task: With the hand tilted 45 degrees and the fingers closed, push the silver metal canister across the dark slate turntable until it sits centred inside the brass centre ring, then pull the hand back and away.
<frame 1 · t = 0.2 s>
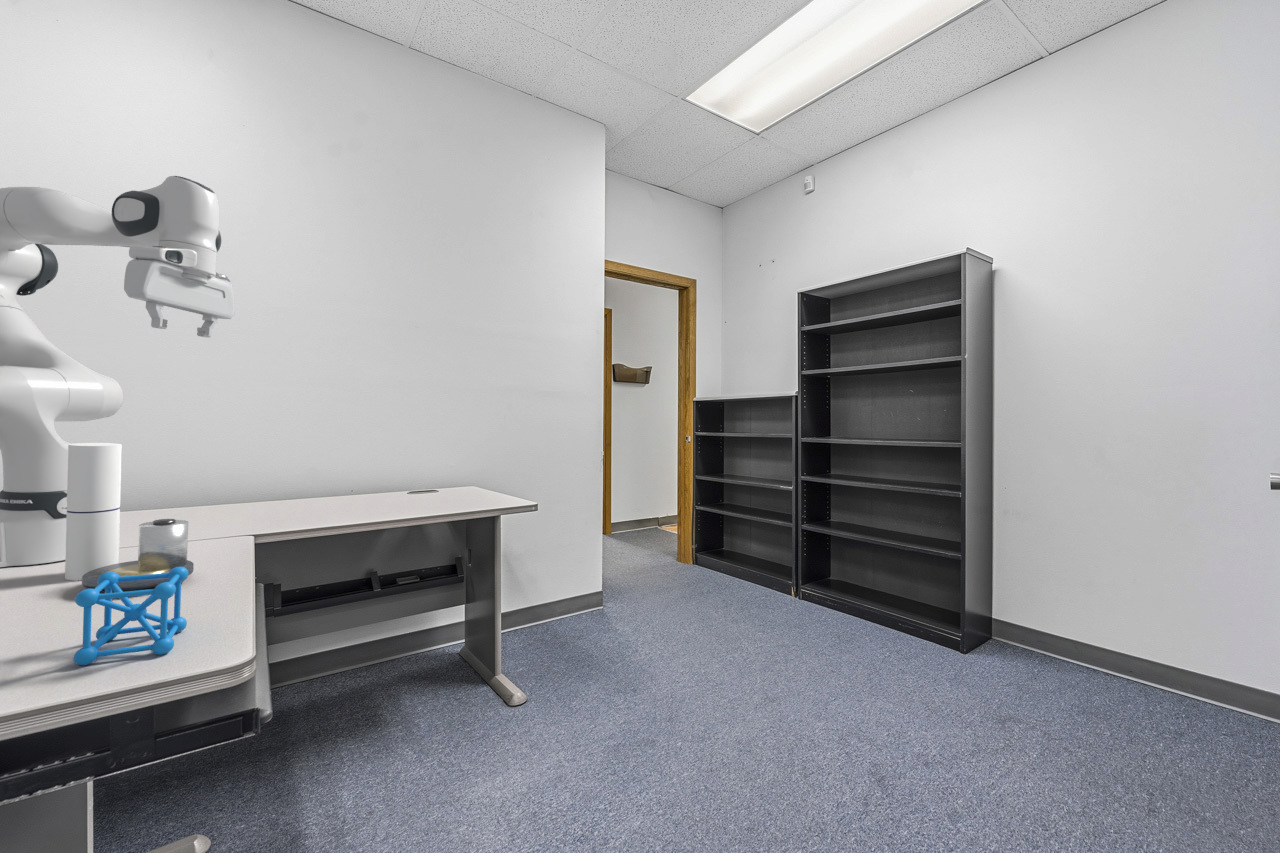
hand: (182, 332, 106), 47 cm above the table, tool pointing down, fingers open, 8 cm apart
silver metal canister: (163, 565, 102), point 3 cm above the table, touching turntable platter
molecular structure: (134, 648, 75), on the table
cylindrical container: (92, 575, 103), on the table
turntable platter: (140, 573, 99), point 2 cm above the table, hinge at 0.0°, touching silver metal canister
turntable base: (140, 584, 99), on the table
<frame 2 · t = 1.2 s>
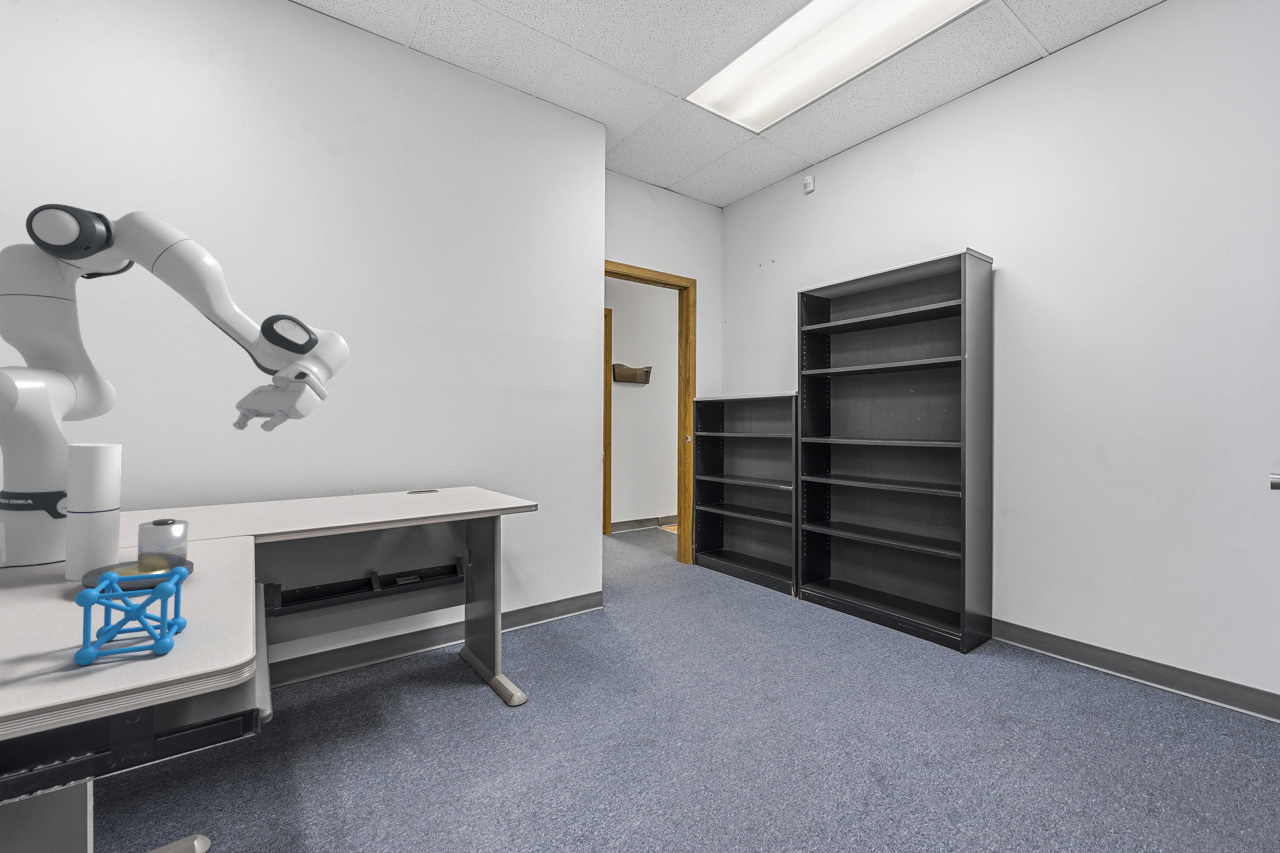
hand: (250, 428, 115), 29 cm above the table, tool tilted 45°, fingers open, 8 cm apart
nothing on the table moved.
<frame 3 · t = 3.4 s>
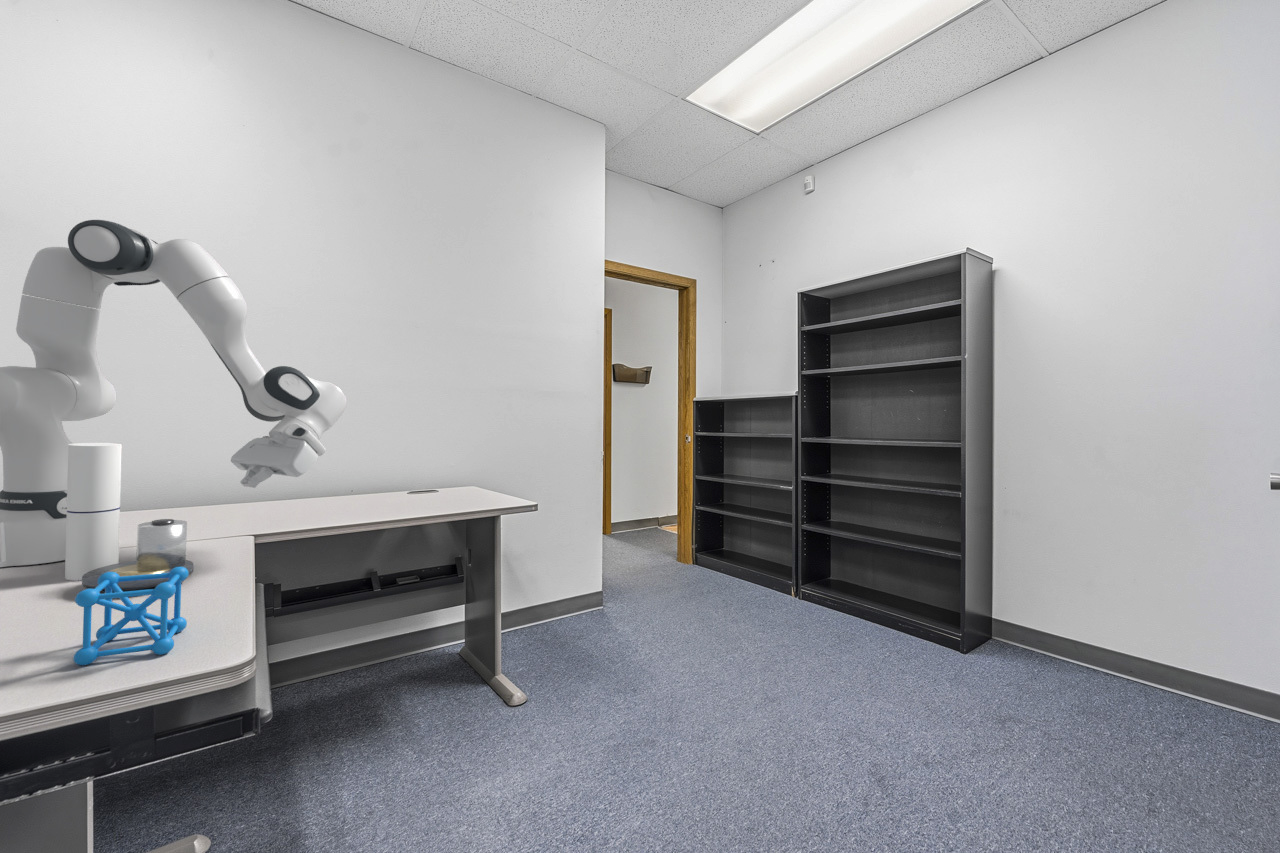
hand: (246, 485, 115), 16 cm above the table, tool tilted 45°, fingers closed
nothing on the table moved.
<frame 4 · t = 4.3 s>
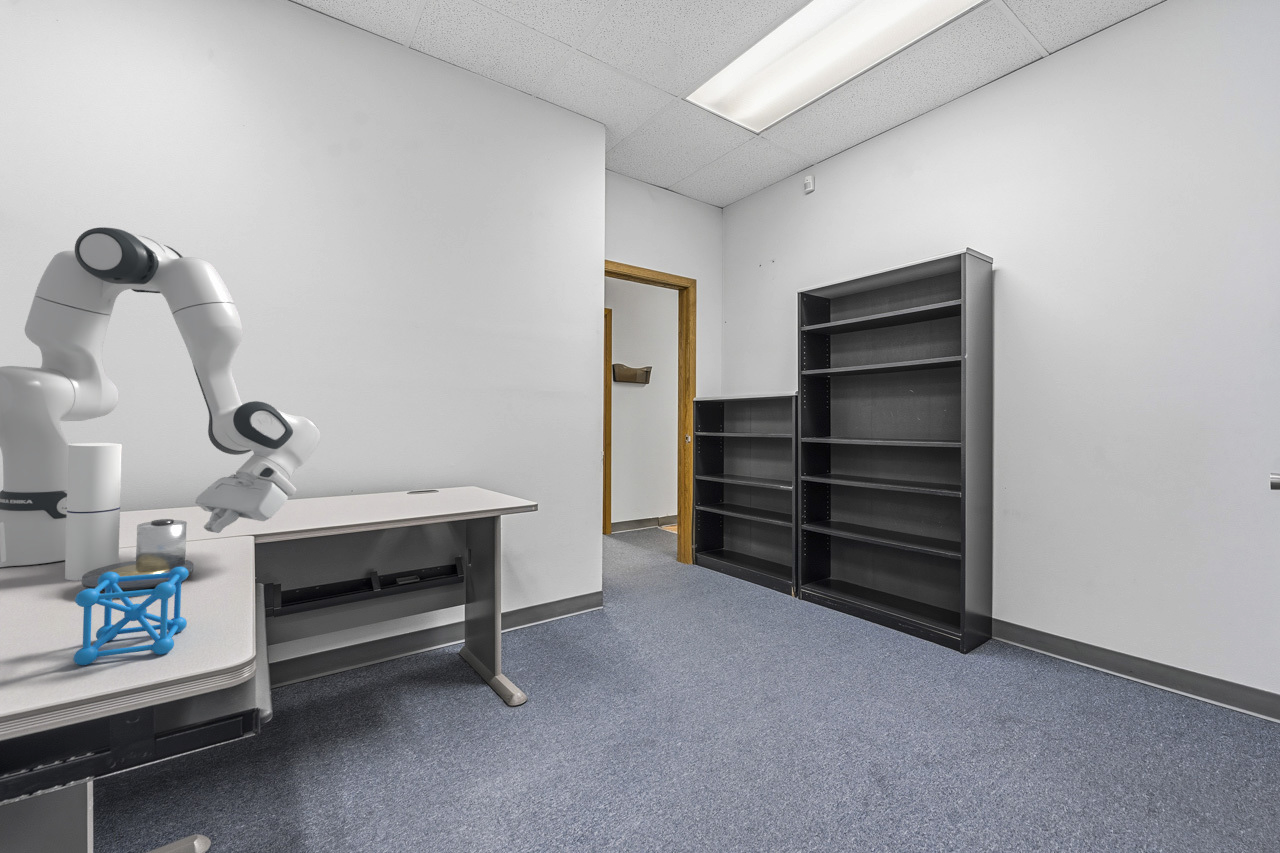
hand: (210, 530, 109), 8 cm above the table, tool tilted 45°, fingers closed
nothing on the table moved.
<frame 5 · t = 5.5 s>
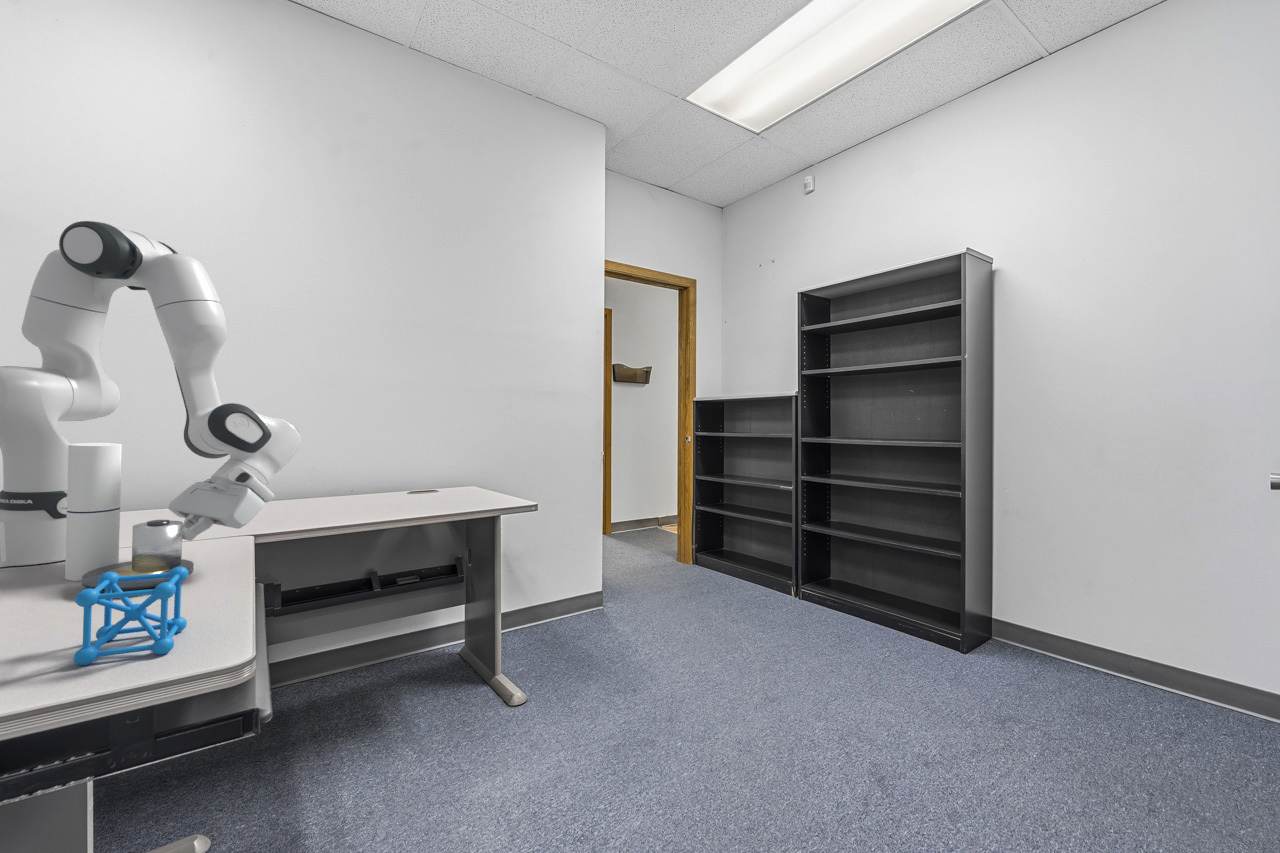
hand: (182, 538, 105), 7 cm above the table, tool tilted 45°, fingers closed, pressing on silver metal canister
silver metal canister: (157, 566, 101), point 3 cm above the table, touching gripper, turntable platter
everything else where it was.
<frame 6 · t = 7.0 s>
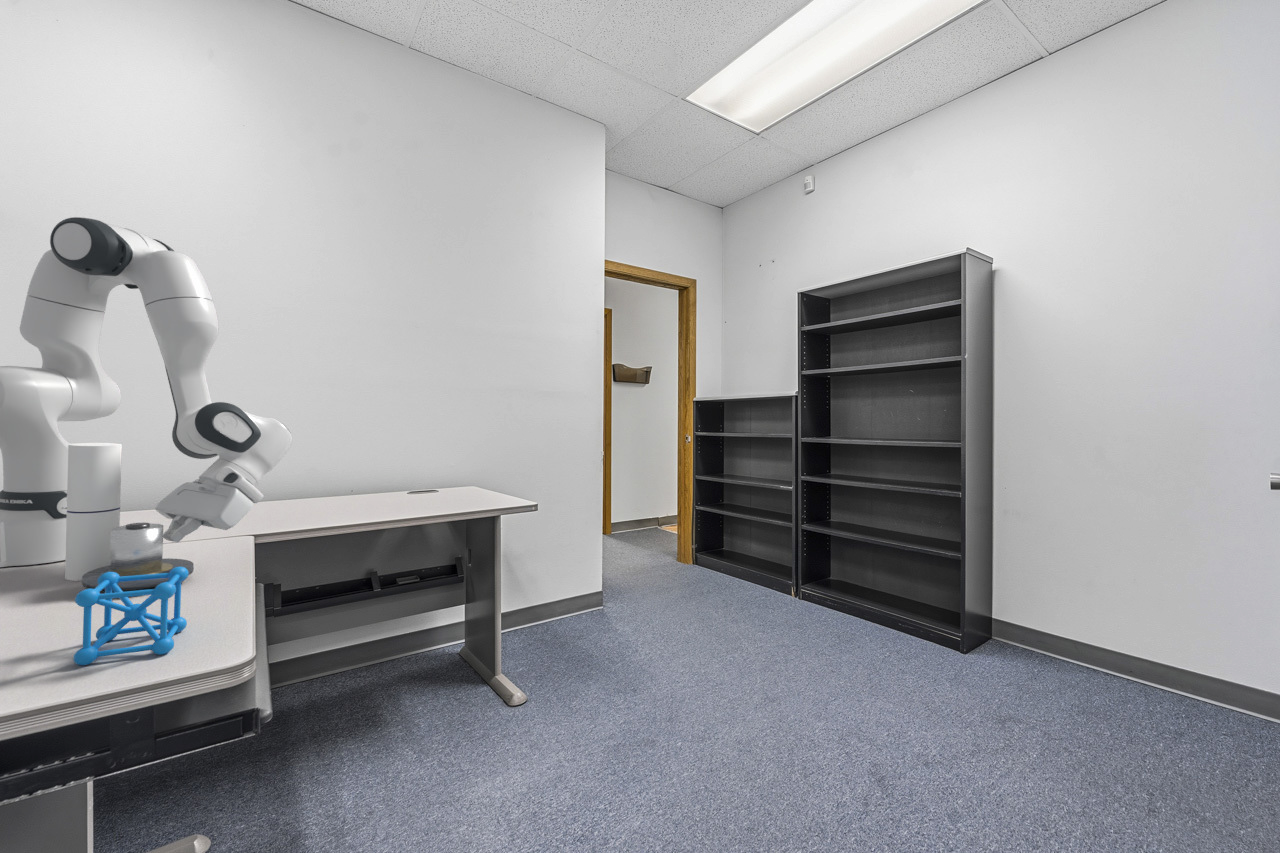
hand: (169, 539, 103), 7 cm above the table, tool tilted 45°, fingers closed
silver metal canister: (136, 571, 98), point 3 cm above the table, touching turntable platter
everything else where it was.
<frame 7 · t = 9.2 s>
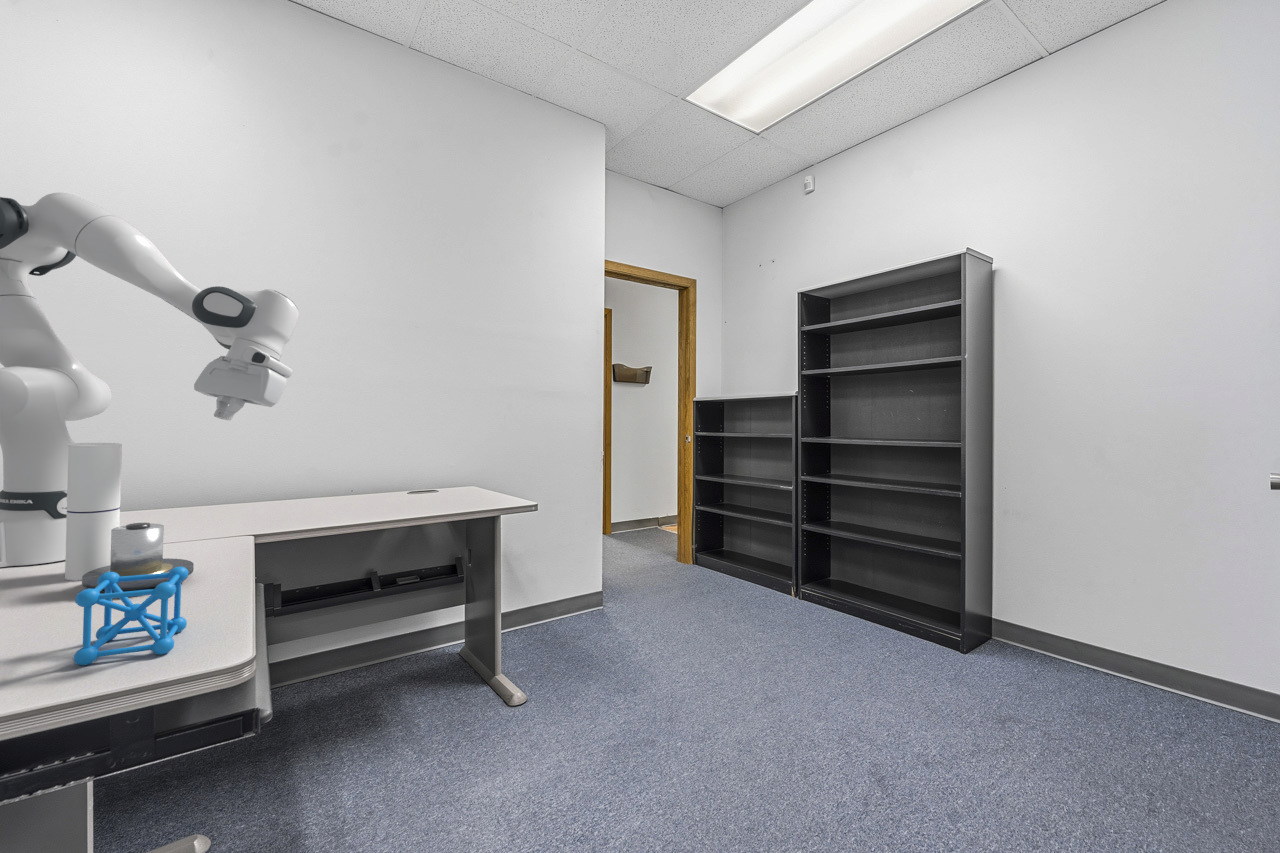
hand: (221, 418, 112), 31 cm above the table, tool tilted 25°, fingers closed
nothing on the table moved.
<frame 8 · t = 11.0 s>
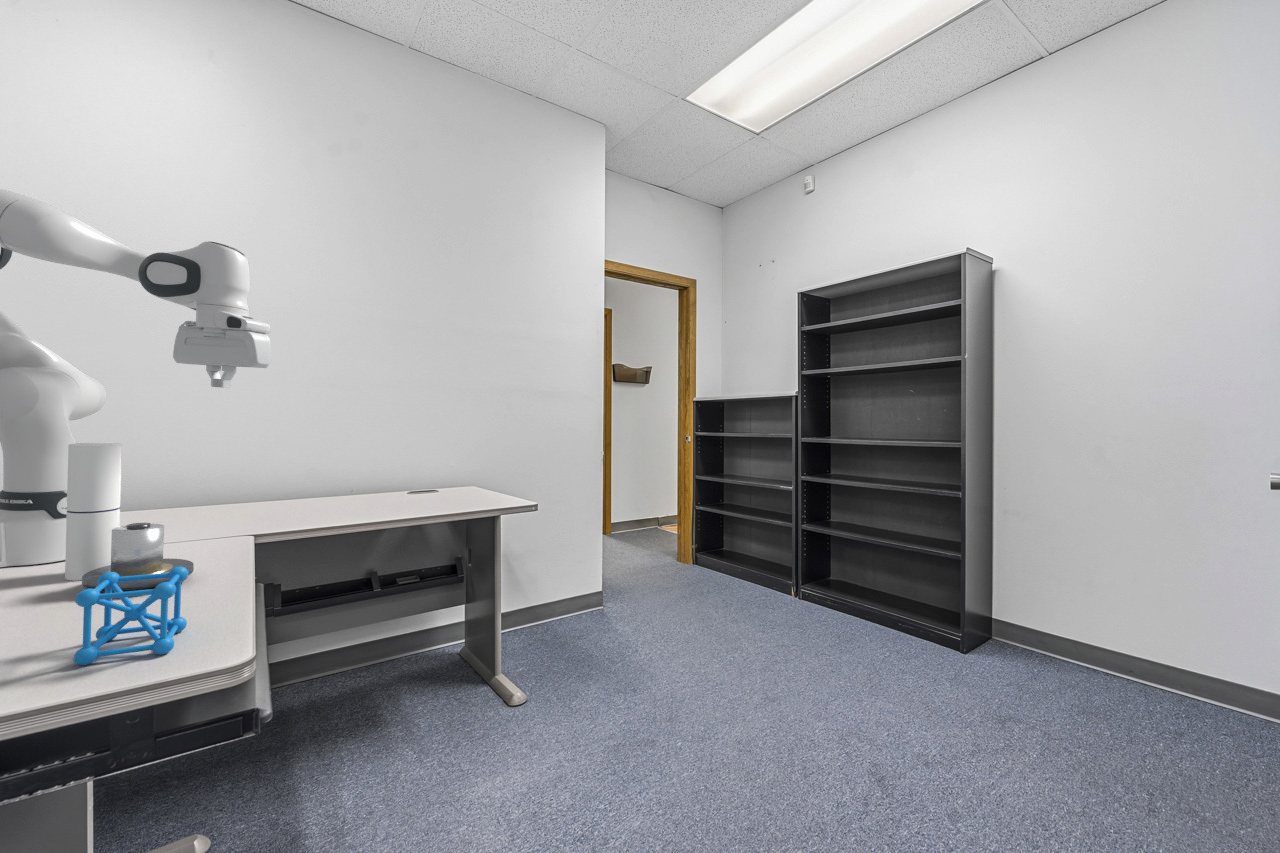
hand: (220, 387, 114), 37 cm above the table, tool pointing down, fingers closed
nothing on the table moved.
at the end: silver metal canister 0.7 cm from the turntable platter (horizontally); silver metal canister tilted 0°; silver metal canister touching turntable platter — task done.
